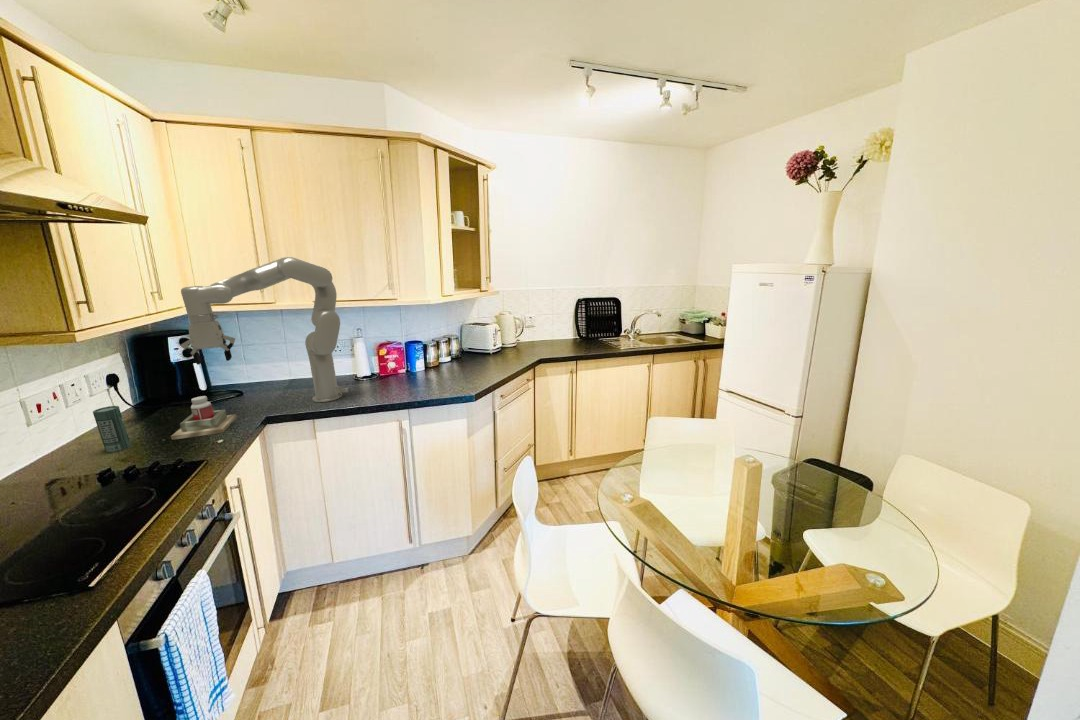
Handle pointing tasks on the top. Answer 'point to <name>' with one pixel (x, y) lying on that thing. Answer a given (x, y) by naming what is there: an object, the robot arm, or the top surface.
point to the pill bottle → (201, 408)
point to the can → (111, 428)
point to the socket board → (204, 425)
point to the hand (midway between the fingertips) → (214, 361)
